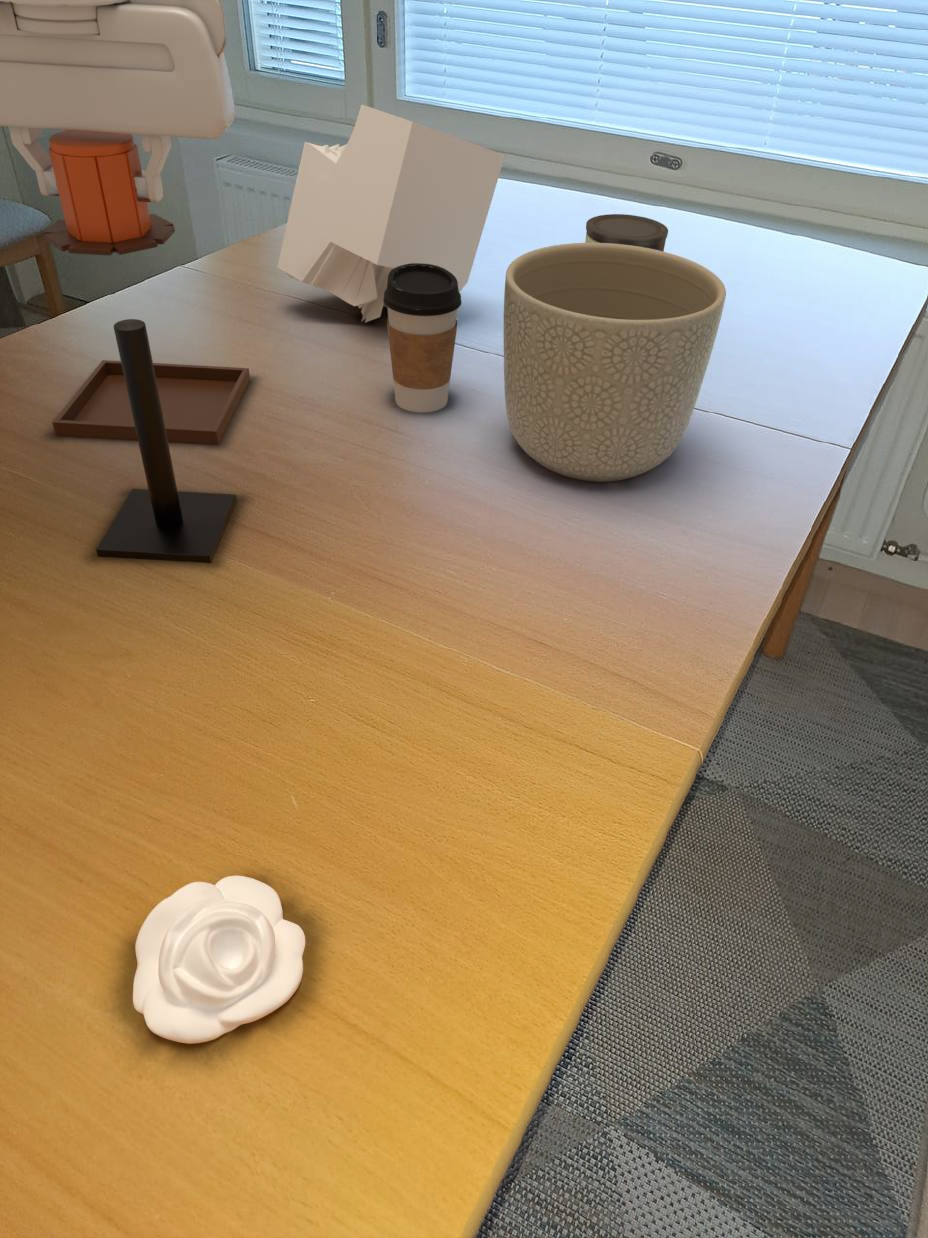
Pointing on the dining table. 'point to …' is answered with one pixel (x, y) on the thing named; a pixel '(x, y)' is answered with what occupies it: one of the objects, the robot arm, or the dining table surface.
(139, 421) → the stand
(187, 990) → the rose
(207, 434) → the tray
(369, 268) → the tissue box
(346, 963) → the dining table surface
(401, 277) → the coffee cup
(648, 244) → the coffee can
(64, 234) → the hat
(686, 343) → the planter
